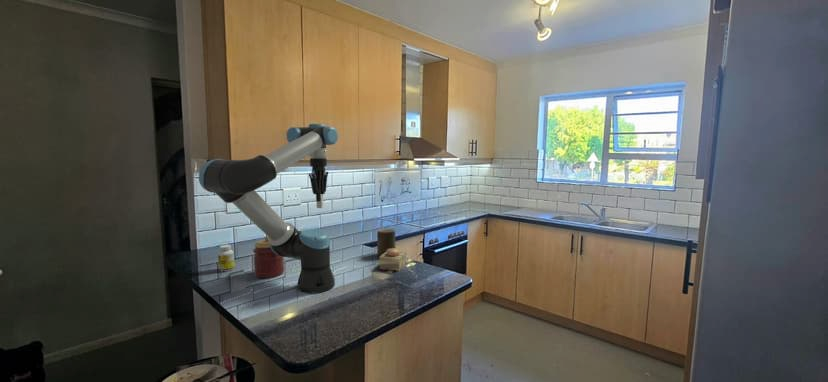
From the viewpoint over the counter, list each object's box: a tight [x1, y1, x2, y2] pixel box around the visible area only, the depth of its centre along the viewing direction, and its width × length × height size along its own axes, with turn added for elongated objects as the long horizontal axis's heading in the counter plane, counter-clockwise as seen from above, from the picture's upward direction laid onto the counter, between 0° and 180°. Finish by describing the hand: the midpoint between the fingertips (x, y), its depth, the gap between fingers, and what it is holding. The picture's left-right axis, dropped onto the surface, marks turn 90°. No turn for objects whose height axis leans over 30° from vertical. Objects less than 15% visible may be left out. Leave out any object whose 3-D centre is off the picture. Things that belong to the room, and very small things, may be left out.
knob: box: [386, 247, 401, 257], centre depth 169 cm, size 6×6×8 cm
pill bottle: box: [217, 244, 235, 272], centre depth 165 cm, size 6×6×12 cm
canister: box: [252, 235, 285, 279], centre depth 160 cm, size 13×13×18 cm
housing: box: [378, 251, 407, 272], centre depth 169 cm, size 10×10×6 cm
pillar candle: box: [376, 228, 396, 258], centre depth 187 cm, size 10×10×15 cm
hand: (320, 207), depth 164 cm, fingers closed
